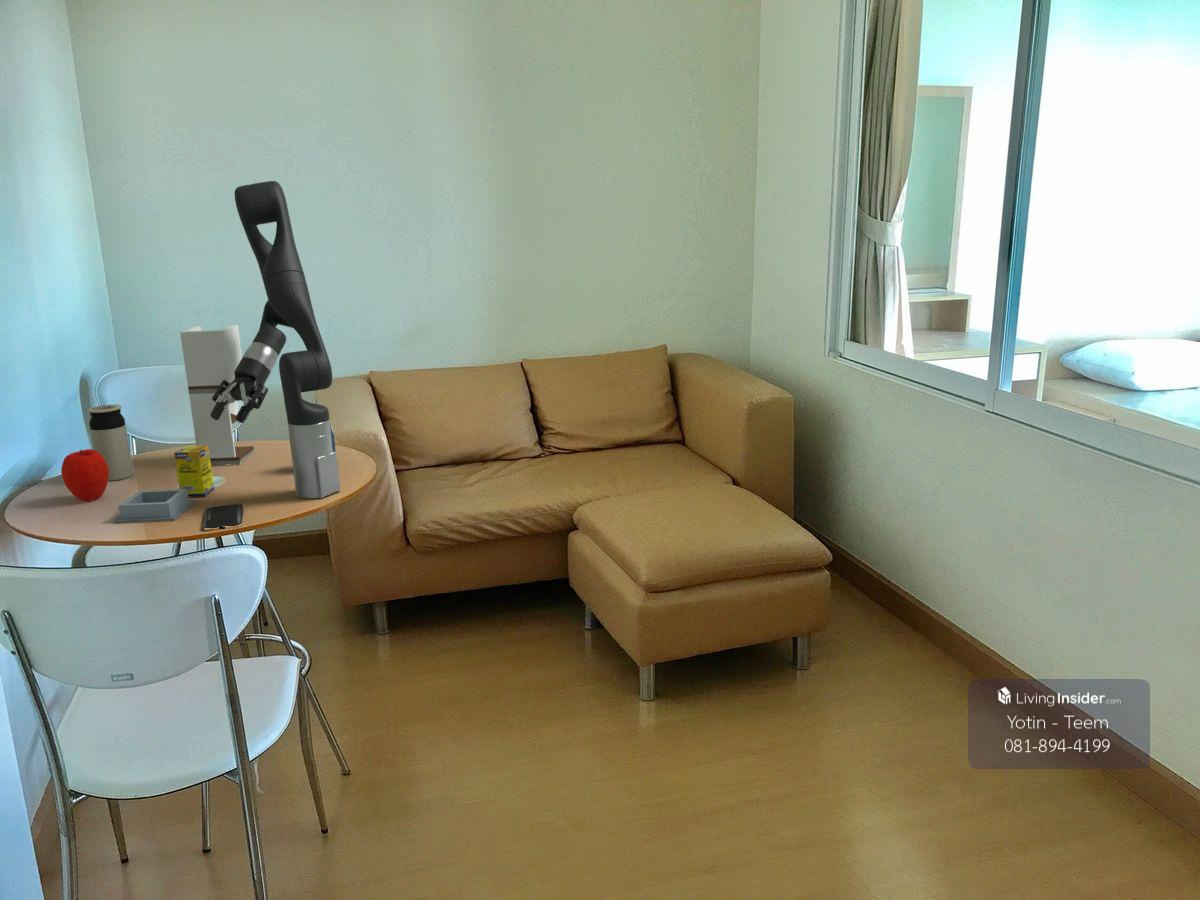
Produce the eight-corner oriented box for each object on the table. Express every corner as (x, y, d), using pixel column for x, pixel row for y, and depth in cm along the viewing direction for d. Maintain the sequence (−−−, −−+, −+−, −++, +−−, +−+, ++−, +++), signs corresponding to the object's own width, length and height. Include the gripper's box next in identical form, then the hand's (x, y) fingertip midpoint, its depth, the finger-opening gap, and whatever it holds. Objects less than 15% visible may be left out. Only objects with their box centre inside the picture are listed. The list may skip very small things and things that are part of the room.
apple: (82, 493, 238) (73, 443, 235) (121, 492, 237) (113, 443, 234) (57, 506, 228) (48, 454, 225) (99, 505, 228) (90, 454, 224)
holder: (195, 502, 227) (193, 487, 226) (174, 520, 215) (171, 504, 214) (138, 504, 227) (136, 489, 226) (113, 523, 214) (110, 507, 213)
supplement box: (205, 497, 231) (198, 451, 228) (179, 497, 231) (173, 452, 228) (215, 489, 237) (209, 445, 234) (190, 490, 237) (184, 445, 234)
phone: (242, 503, 223) (242, 523, 209) (243, 507, 223) (242, 528, 209) (205, 507, 220) (202, 528, 207) (206, 512, 221) (202, 533, 207)
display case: (240, 464, 258) (222, 330, 249) (199, 466, 258) (180, 332, 249) (254, 453, 269) (237, 324, 260) (215, 454, 269) (197, 326, 260)
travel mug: (116, 482, 246) (105, 411, 241) (91, 480, 248) (79, 410, 243) (140, 473, 253) (129, 404, 248) (115, 472, 255) (104, 403, 251)
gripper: (226, 354, 246) (195, 409, 240) (268, 357, 240) (237, 413, 233) (245, 371, 252) (215, 425, 246) (286, 375, 246) (257, 430, 239)
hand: (226, 419), depth 239 cm, fingers open, 8 cm apart
